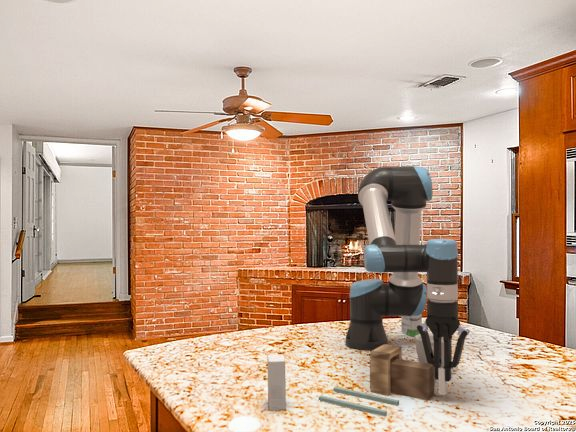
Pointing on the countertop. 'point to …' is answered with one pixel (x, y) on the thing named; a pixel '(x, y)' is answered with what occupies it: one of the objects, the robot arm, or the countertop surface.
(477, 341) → the countertop surface
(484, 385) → the countertop surface
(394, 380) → the brown wooden block
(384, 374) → the wooden arch block
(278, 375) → the skincare box
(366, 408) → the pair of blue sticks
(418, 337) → the mug
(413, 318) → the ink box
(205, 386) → the countertop surface
